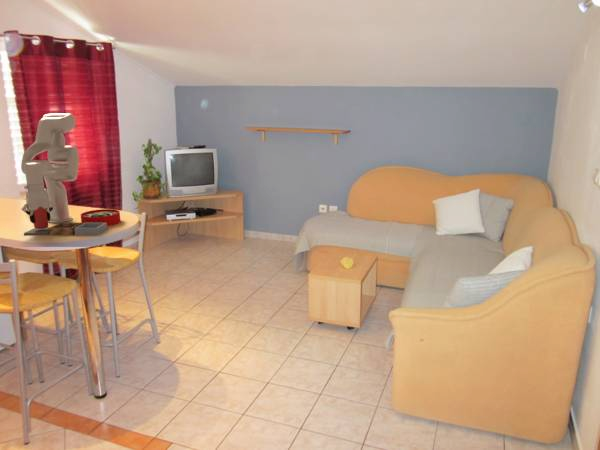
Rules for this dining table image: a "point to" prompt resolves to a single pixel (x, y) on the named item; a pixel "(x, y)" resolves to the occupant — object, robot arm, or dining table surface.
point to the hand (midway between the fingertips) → (40, 221)
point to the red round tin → (101, 216)
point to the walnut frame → (64, 229)
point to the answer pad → (38, 231)
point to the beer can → (40, 218)
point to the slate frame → (90, 228)
